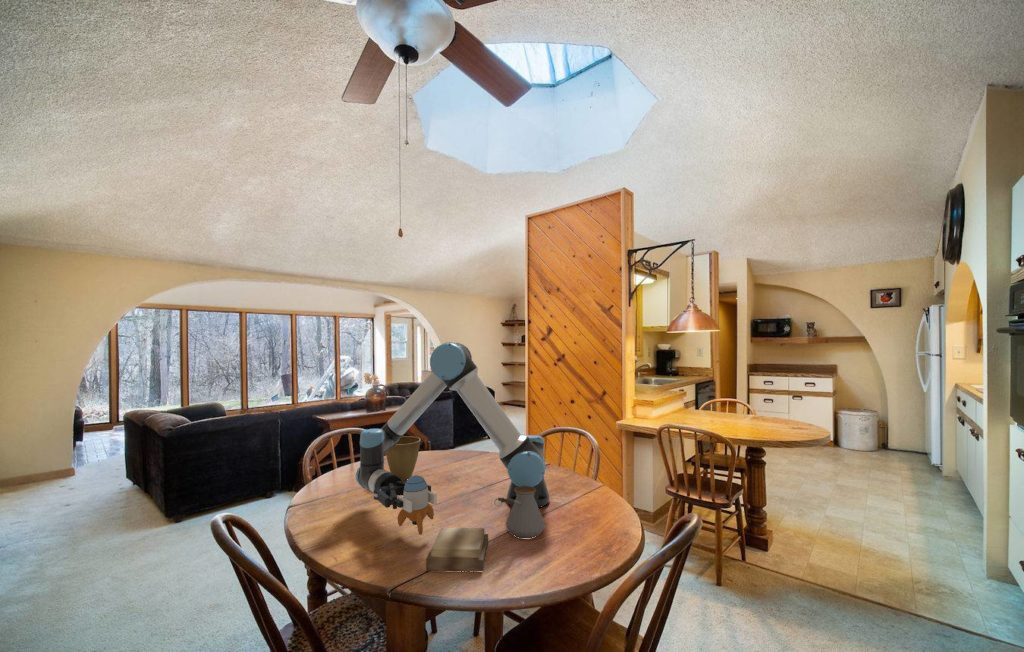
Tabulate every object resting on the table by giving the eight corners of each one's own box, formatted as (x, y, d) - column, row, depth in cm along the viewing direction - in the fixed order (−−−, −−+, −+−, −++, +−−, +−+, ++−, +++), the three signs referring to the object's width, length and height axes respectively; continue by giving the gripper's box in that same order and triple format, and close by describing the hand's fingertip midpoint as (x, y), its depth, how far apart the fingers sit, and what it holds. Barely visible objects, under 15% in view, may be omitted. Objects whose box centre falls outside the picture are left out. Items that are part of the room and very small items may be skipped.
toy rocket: (429, 538, 112) (413, 487, 110) (393, 543, 114) (378, 492, 112) (441, 515, 122) (427, 468, 120) (409, 520, 124) (395, 474, 122)
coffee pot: (518, 522, 131) (517, 473, 131) (551, 530, 125) (550, 479, 125) (479, 551, 112) (479, 495, 113) (516, 562, 106) (516, 502, 107)
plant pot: (377, 483, 169) (377, 443, 170) (393, 472, 184) (393, 435, 185) (412, 484, 167) (412, 444, 168) (425, 473, 181) (425, 436, 182)
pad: (488, 545, 116) (488, 526, 116) (482, 572, 102) (482, 551, 102) (438, 544, 116) (438, 526, 117) (426, 571, 102) (426, 550, 103)
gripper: (413, 488, 138) (453, 507, 121) (354, 505, 124) (389, 528, 108) (413, 465, 138) (453, 480, 121) (354, 479, 125) (389, 499, 108)
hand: (423, 503), depth 115 cm, fingers closed on toy rocket, 7 cm apart
